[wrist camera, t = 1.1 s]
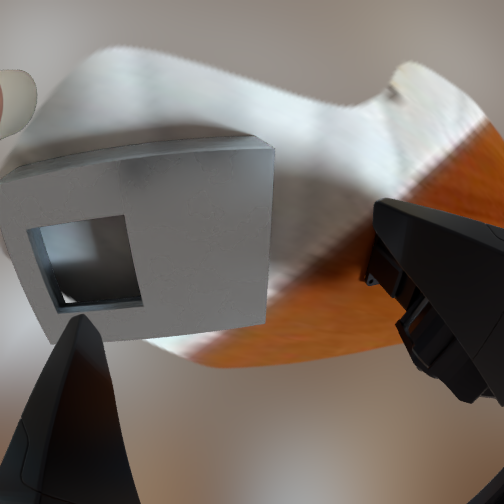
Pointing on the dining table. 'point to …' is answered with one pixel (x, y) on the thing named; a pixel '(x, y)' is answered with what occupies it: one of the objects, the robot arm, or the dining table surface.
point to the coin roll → (16, 101)
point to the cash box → (153, 233)
